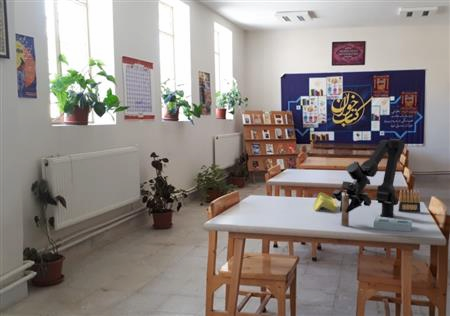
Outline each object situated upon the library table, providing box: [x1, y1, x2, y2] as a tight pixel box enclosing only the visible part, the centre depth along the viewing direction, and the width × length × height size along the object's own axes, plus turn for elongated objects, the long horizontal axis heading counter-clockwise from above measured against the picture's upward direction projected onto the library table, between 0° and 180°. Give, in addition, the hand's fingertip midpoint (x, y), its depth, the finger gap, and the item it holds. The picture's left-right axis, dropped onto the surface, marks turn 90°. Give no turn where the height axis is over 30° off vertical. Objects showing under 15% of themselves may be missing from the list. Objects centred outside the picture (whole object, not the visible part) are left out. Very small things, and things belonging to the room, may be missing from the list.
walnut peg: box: [340, 195, 350, 227], centre depth 228 cm, size 3×3×14 cm
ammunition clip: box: [397, 188, 421, 213], centre depth 258 cm, size 11×2×12 cm, turn 79°
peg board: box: [373, 217, 413, 232], centre depth 223 cm, size 10×16×3 cm, turn 68°
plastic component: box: [313, 192, 339, 212], centre depth 269 cm, size 20×7×10 cm
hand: (343, 211), depth 227 cm, fingers closed on walnut peg, 3 cm apart
